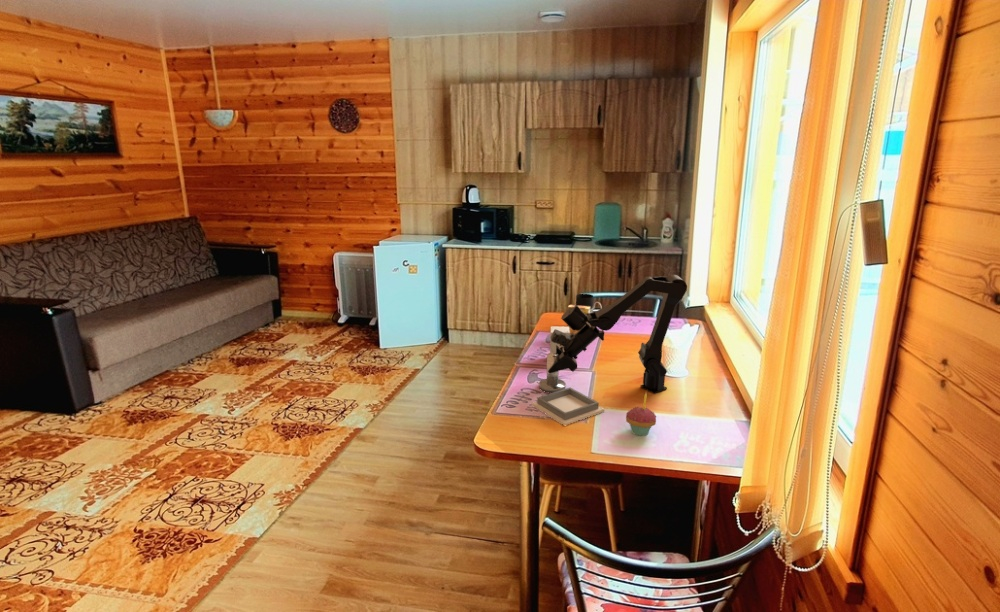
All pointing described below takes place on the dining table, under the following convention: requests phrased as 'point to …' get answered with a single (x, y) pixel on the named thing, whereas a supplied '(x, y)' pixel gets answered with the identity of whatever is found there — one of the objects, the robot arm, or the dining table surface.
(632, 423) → the cupcake
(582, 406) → the board
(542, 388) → the flared base peg
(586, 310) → the candy box
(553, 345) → the supplement box
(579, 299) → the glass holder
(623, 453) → the dining table surface
